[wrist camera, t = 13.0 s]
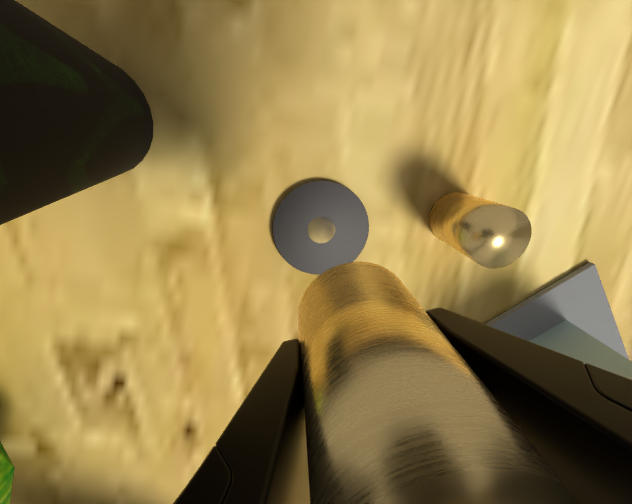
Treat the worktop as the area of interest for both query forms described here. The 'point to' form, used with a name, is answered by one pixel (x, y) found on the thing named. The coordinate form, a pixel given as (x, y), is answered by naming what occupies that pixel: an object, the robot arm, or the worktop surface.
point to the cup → (61, 115)
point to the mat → (565, 310)
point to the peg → (403, 405)
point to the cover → (584, 348)
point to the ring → (320, 226)
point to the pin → (481, 228)
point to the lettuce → (5, 476)
